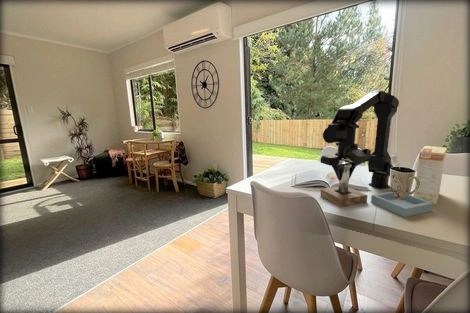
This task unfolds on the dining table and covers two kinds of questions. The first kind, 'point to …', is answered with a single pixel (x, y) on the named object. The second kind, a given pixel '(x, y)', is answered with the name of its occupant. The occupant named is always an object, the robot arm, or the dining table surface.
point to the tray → (402, 204)
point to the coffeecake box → (430, 173)
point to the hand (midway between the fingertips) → (343, 179)
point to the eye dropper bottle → (395, 161)
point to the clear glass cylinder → (344, 177)
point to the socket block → (343, 196)
